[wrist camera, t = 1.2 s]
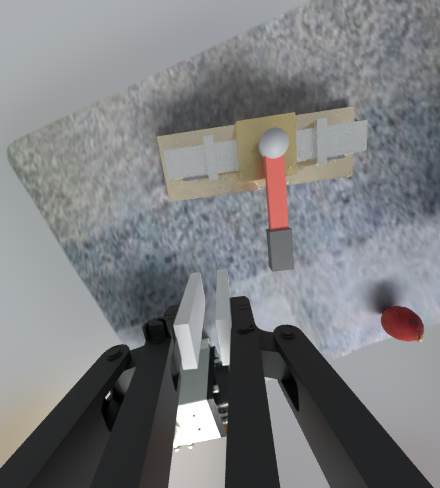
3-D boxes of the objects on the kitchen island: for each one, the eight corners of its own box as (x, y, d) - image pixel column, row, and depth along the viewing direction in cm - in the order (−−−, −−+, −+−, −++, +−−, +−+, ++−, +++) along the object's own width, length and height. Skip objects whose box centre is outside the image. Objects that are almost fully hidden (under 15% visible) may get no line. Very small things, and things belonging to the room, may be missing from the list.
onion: (377, 296, 42) (413, 321, 34) (405, 301, 42) (447, 327, 35) (367, 321, 44) (398, 351, 36) (394, 326, 44) (430, 356, 36)
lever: (256, 133, 24) (259, 129, 23) (283, 129, 24) (288, 125, 22) (267, 266, 28) (270, 271, 27) (290, 263, 28) (295, 268, 27)
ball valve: (156, 372, 47) (119, 479, 30) (142, 340, 45) (94, 435, 28) (236, 353, 46) (246, 454, 29) (226, 319, 44) (230, 407, 27)
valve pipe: (348, 109, 34) (409, 74, 23) (347, 176, 36) (401, 172, 26) (159, 138, 35) (131, 117, 24) (171, 201, 37) (151, 208, 27)
